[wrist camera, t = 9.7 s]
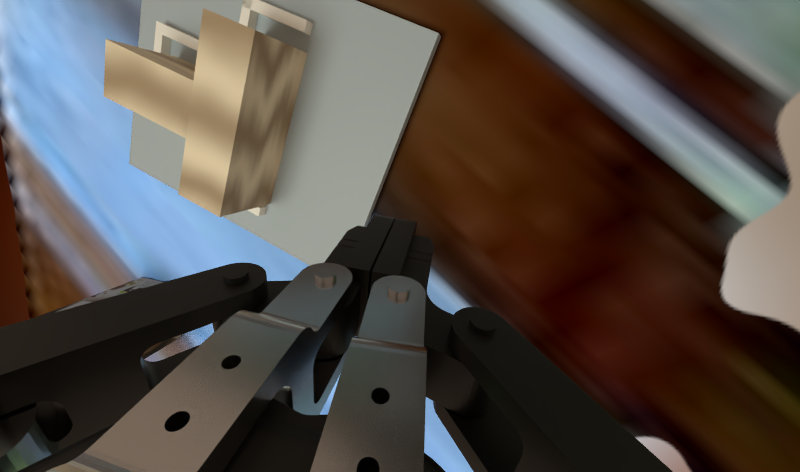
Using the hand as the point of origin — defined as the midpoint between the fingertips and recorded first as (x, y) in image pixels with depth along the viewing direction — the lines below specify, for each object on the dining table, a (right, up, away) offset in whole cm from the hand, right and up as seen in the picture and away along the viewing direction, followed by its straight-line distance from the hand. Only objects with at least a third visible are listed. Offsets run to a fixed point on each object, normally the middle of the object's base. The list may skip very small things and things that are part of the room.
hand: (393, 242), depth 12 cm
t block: (-18, +14, +23) cm, 33 cm away
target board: (-15, +13, +24) cm, 31 cm away
